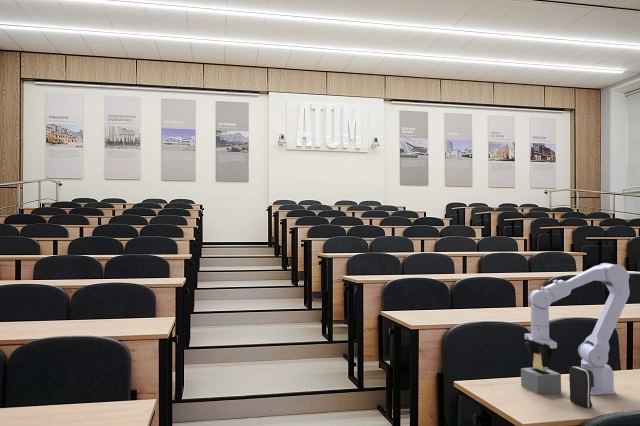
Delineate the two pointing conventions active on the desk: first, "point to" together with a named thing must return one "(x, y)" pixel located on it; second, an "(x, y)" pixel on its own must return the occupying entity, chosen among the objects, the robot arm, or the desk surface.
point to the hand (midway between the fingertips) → (540, 364)
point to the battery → (581, 385)
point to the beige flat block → (538, 362)
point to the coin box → (540, 380)
